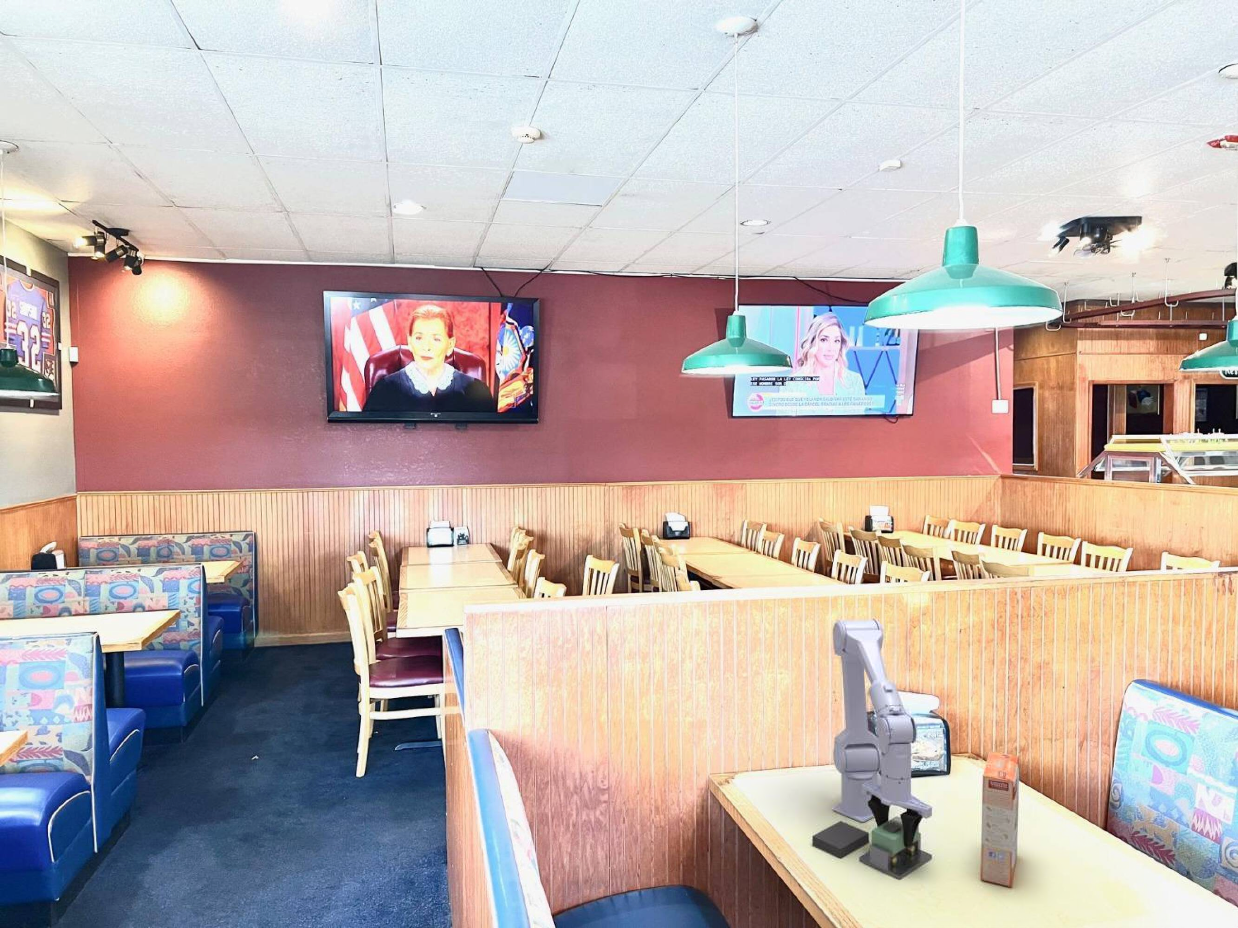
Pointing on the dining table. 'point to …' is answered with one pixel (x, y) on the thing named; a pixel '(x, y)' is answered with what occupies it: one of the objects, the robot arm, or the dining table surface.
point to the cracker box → (999, 818)
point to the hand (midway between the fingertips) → (895, 839)
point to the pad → (840, 839)
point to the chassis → (896, 859)
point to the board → (891, 835)
